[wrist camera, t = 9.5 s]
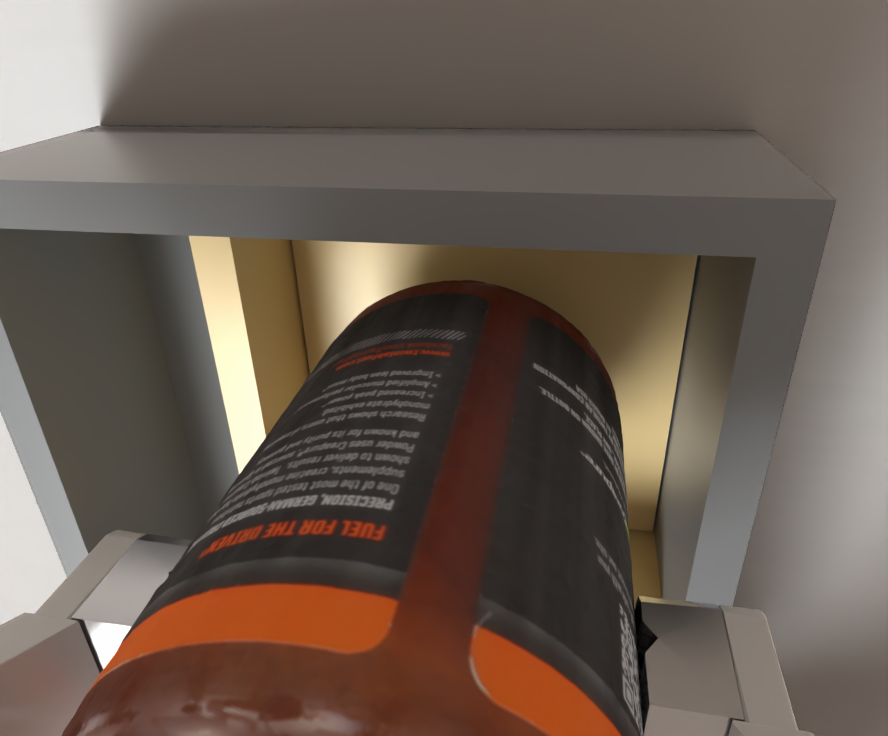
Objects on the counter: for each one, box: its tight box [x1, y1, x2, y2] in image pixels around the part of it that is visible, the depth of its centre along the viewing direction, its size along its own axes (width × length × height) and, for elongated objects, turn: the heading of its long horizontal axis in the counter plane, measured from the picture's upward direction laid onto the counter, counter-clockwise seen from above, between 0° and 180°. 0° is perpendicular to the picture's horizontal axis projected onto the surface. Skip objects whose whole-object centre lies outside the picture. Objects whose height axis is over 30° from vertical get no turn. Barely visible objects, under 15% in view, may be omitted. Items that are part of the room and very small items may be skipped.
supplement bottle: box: [62, 280, 643, 736], centre depth 9 cm, size 6×6×11 cm
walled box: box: [0, 126, 836, 608], centre depth 16 cm, size 15×14×5 cm
